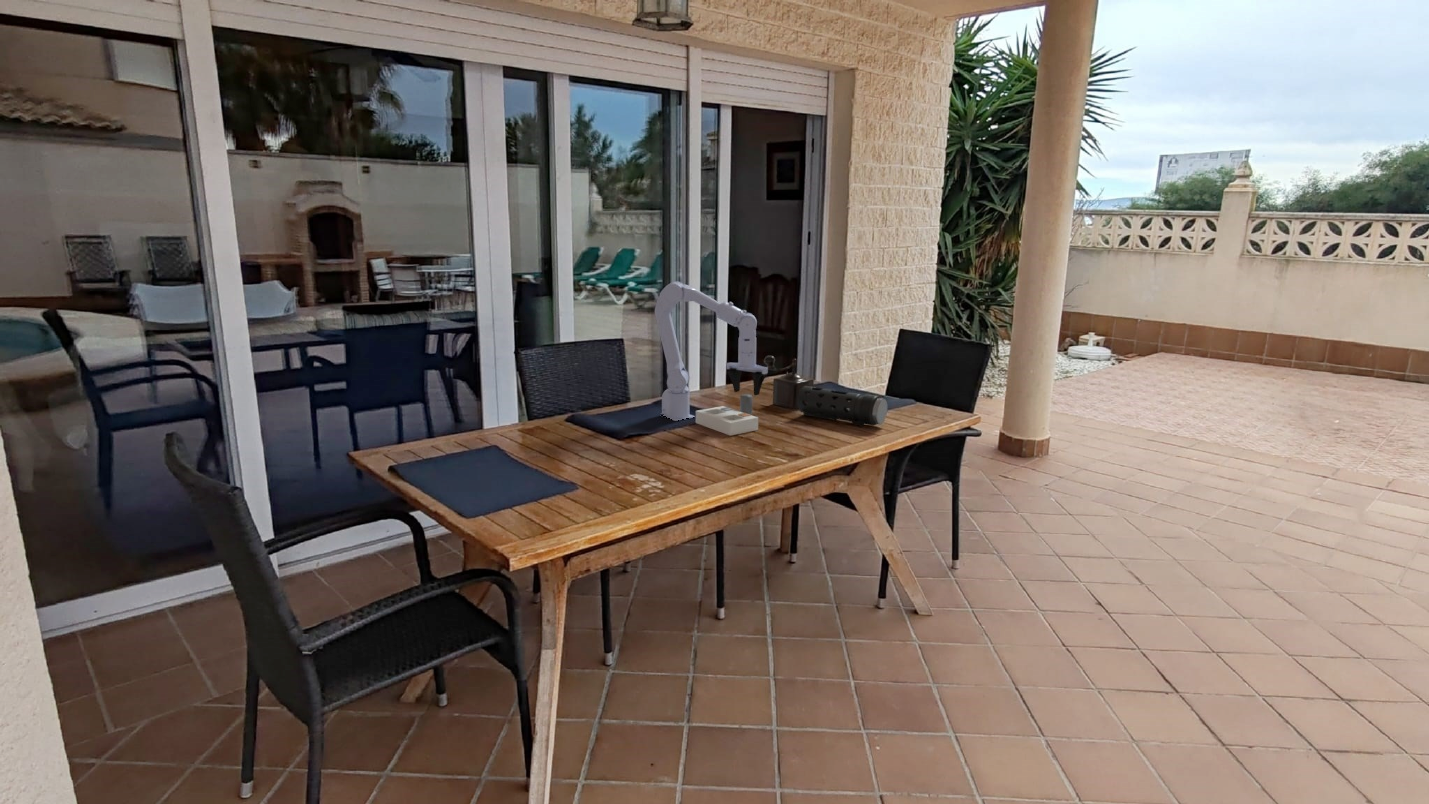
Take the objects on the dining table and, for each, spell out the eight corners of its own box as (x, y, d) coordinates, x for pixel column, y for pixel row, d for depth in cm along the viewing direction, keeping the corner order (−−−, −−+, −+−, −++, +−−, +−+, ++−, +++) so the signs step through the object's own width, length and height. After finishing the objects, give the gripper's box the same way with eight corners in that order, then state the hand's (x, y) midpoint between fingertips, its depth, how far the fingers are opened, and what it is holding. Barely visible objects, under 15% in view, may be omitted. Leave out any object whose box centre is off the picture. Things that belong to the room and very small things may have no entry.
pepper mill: (790, 399, 277) (792, 350, 273) (813, 405, 269) (815, 354, 265) (760, 406, 267) (761, 355, 263) (783, 412, 259) (784, 360, 255)
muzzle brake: (810, 412, 260) (811, 382, 257) (887, 425, 244) (889, 394, 241) (796, 418, 252) (797, 387, 250) (875, 432, 236) (876, 399, 234)
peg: (737, 419, 250) (737, 395, 248) (746, 417, 252) (747, 393, 251) (745, 421, 247) (745, 397, 245) (754, 419, 249) (755, 395, 247)
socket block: (695, 422, 245) (695, 409, 244) (722, 417, 251) (722, 405, 250) (730, 435, 231) (730, 422, 230) (758, 429, 238) (758, 416, 236)
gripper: (721, 351, 245) (721, 392, 249) (759, 355, 237) (759, 398, 240) (733, 348, 251) (733, 388, 254) (771, 352, 243) (770, 394, 246)
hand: (746, 393), depth 248 cm, fingers open, 7 cm apart
